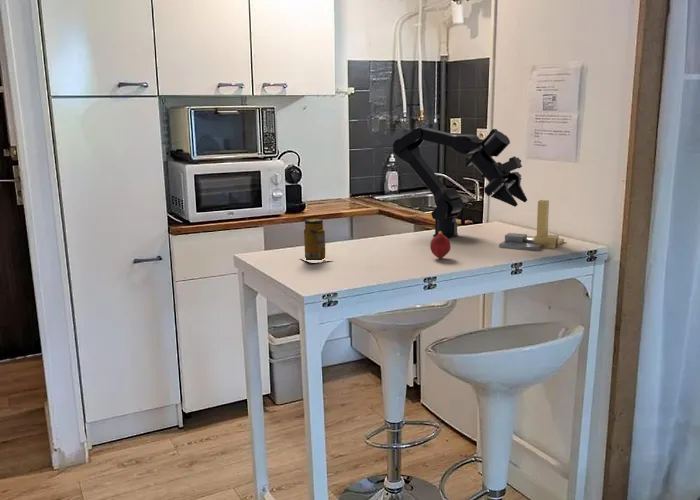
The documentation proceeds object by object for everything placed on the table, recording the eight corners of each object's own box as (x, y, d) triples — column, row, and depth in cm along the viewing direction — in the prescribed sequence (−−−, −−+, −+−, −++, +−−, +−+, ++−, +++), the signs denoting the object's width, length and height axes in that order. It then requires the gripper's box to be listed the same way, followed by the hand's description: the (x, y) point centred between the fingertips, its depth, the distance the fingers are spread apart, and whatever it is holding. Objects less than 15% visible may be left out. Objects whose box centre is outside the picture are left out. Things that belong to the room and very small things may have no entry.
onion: (451, 260, 188) (451, 233, 186) (431, 261, 188) (431, 233, 187) (449, 256, 194) (449, 229, 192) (429, 256, 194) (429, 229, 192)
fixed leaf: (499, 247, 203) (499, 238, 202) (509, 241, 210) (509, 232, 210) (548, 251, 195) (548, 242, 194) (556, 245, 203) (557, 236, 202)
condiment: (321, 256, 199) (320, 216, 197) (333, 261, 192) (331, 221, 189) (299, 259, 196) (297, 219, 194) (310, 265, 189) (308, 223, 186)
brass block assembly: (515, 245, 205) (516, 200, 202) (526, 238, 214) (527, 195, 211) (554, 248, 199) (556, 202, 196) (563, 241, 207) (565, 197, 204)
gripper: (494, 151, 195) (530, 189, 192) (515, 146, 210) (549, 182, 207) (469, 176, 201) (504, 214, 198) (491, 170, 216) (524, 205, 213)
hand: (521, 203), depth 204 cm, fingers open, 9 cm apart
